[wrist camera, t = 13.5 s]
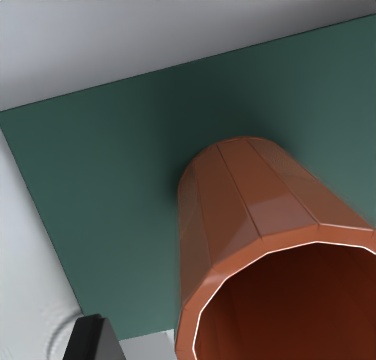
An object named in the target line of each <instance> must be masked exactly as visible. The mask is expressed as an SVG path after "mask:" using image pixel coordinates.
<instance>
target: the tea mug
mask: <svg viewBox="0 0 376 360" xmlns="http://www.w3.org/2000/svg"><path fill="white" fill-rule="evenodd" d="M174 351H175V354H176V357H177V360H376V221H375V220H374V219H373V218H371V217H370V216H369V215H368V214H366V213H365V212H364V211H363V210H362V209H360V208H359V207H358V206H357V205H355V204H354V203H353V202H352V201H351V200H349V199H348V198H347V197H346V196H344V195H343V194H342V193H341V192H340V191H338V190H337V189H336V188H335V187H333V186H332V185H331V184H330V183H329V182H327V181H326V180H325V179H324V178H322V177H321V176H320V175H319V174H318V173H316V172H315V171H314V170H313V169H312V168H310V167H309V166H308V165H307V164H305V163H304V162H303V161H302V160H301V159H299V158H298V157H297V156H296V155H294V154H293V153H291V152H289V151H288V150H287V149H285V148H284V147H282V146H281V145H279V144H277V143H275V142H274V141H271V140H268V139H265V138H261V137H256V136H236V137H231V138H227V139H224V140H220V141H218V142H216V143H214V144H212V145H210V146H208V147H207V148H205V149H204V150H202V151H201V152H200V153H199V154H197V155H196V156H195V157H194V158H193V159H192V161H191V162H190V163H189V164H188V166H187V167H186V168H185V170H184V172H183V174H182V176H181V178H180V181H179V183H178V187H177V192H176V203H175V243H174Z"/></svg>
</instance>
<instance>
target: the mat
mask: <svg viewBox="0 0 376 360" xmlns="http://www.w3.org/2000/svg"><path fill="white" fill-rule="evenodd" d="M0 127H1V129H2V132H3V134H4V136H5V138H6V141H7V143H8V145H9V147H10V150H11V152H12V154H13V156H14V159H15V161H16V163H17V165H18V168H19V170H20V172H21V174H22V177H23V179H24V181H25V183H26V186H27V188H28V190H29V192H30V195H31V197H32V199H33V201H34V204H35V206H36V208H37V210H38V213H39V215H40V217H41V219H42V222H43V224H44V226H45V228H46V231H47V233H48V235H49V237H50V240H51V242H52V244H53V246H54V249H55V251H56V253H57V255H58V258H59V260H60V262H61V264H62V267H63V269H64V271H65V273H66V276H67V278H68V280H69V283H70V285H71V287H72V289H73V292H74V294H75V296H76V298H77V301H78V303H79V305H80V307H81V310H82V312H83V314H84V316H88V315H92V314H97V313H99V314H101V316H102V317H103V318H104V317H108V318H109V320H110V322H111V325H112V327H113V330H114V332H115V334H116V337H117V339H118V341H121V340H125V339H129V338H134V337H138V336H143V335H148V334H152V333H157V332H161V331H166V330H170V329H174V243H175V203H176V192H177V187H178V183H179V181H180V178H181V176H182V174H183V172H184V170H185V168H186V167H187V166H188V164H189V163H190V162H191V161H192V159H193V158H194V157H195V156H196V155H197V154H199V153H200V152H201V151H202V150H204V149H205V148H207V147H208V146H210V145H212V144H214V143H216V142H218V141H220V140H224V139H227V138H231V137H236V136H256V137H261V138H265V139H268V140H271V141H274V142H275V143H277V144H279V145H281V146H282V147H284V148H285V149H287V150H288V151H289V152H291V153H293V154H294V155H296V156H297V157H298V158H299V159H301V160H302V161H303V162H304V163H305V164H307V165H308V166H309V167H310V168H312V169H313V170H314V171H315V172H316V173H318V174H319V175H320V176H321V177H322V178H324V179H325V180H326V181H327V182H329V183H330V184H331V185H332V186H333V187H335V188H336V189H337V190H338V191H340V192H341V193H342V194H343V195H344V196H346V197H347V198H348V199H349V200H351V201H352V202H353V203H354V204H355V205H357V206H358V207H359V208H360V209H362V210H363V211H364V212H365V213H366V214H368V215H369V216H370V217H371V218H373V219H374V220H375V221H376V13H375V14H371V15H367V16H363V17H360V18H356V19H352V20H348V21H344V22H340V23H337V24H333V25H329V26H325V27H321V28H317V29H314V30H310V31H306V32H302V33H298V34H294V35H291V36H287V37H283V38H279V39H275V40H271V41H268V42H264V43H260V44H256V45H252V46H249V47H245V48H241V49H237V50H233V51H229V52H226V53H222V54H218V55H214V56H210V57H206V58H203V59H199V60H195V61H191V62H187V63H183V64H180V65H176V66H172V67H168V68H164V69H160V70H157V71H153V72H149V73H145V74H141V75H137V76H134V77H130V78H126V79H122V80H118V81H115V82H111V83H107V84H103V85H99V86H95V87H92V88H88V89H84V90H80V91H76V92H72V93H69V94H65V95H61V96H57V97H53V98H49V99H46V100H42V101H38V102H34V103H30V104H26V105H23V106H19V107H15V108H11V109H7V110H3V111H0Z"/></svg>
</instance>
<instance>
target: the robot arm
mask: <svg viewBox="0 0 376 360" xmlns="http://www.w3.org/2000/svg"><path fill="white" fill-rule="evenodd" d="M63 360H126V358H125V356H124V353H123V351H122V348H121V346H120V344H119V341H118V339H117V337H116V334H115V332H114V330H113V327H112V325H111V322H110V320H109V318H108V317H104V318H103V317H102V316H101V314H99V313H97V314H92V315H88V316H84V317H80V318H78V319H77V320H76V322H75V325H74V328H73V331H72V334H71V336H70V339H69V342H68V345H67V348H66V351H65V354H64V357H63Z"/></svg>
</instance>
